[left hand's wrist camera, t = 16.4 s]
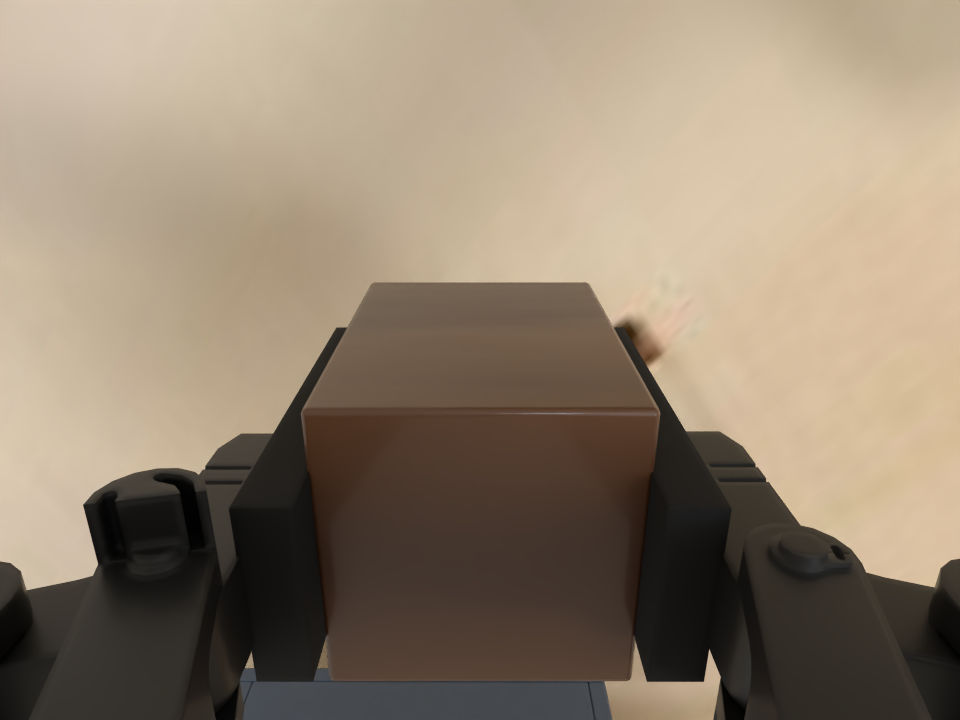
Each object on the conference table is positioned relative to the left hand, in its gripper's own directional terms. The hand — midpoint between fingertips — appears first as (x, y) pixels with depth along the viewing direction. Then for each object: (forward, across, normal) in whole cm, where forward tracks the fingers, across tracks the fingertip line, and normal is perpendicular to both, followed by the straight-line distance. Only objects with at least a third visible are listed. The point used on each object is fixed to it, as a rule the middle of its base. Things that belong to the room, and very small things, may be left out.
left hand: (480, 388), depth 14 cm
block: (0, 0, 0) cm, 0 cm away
